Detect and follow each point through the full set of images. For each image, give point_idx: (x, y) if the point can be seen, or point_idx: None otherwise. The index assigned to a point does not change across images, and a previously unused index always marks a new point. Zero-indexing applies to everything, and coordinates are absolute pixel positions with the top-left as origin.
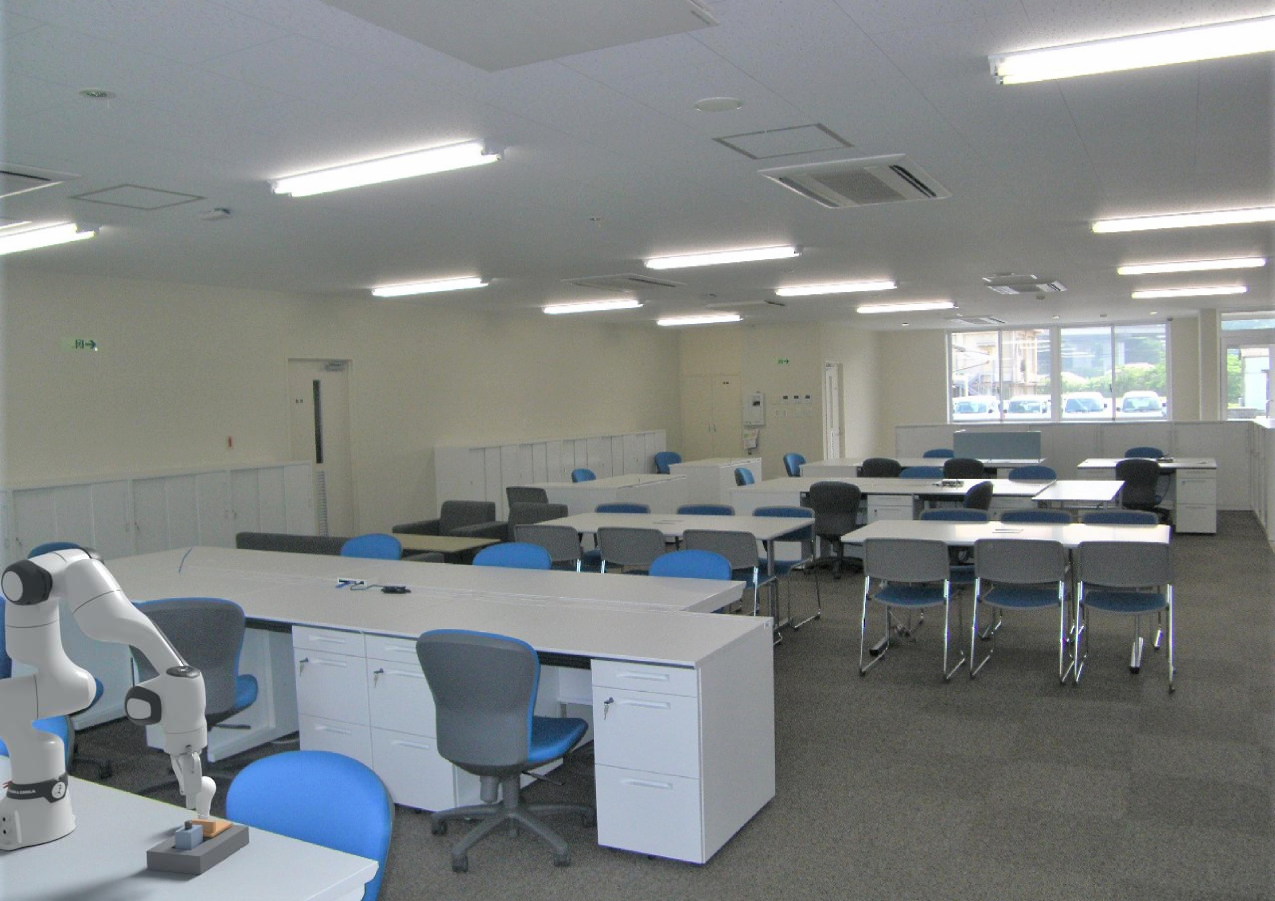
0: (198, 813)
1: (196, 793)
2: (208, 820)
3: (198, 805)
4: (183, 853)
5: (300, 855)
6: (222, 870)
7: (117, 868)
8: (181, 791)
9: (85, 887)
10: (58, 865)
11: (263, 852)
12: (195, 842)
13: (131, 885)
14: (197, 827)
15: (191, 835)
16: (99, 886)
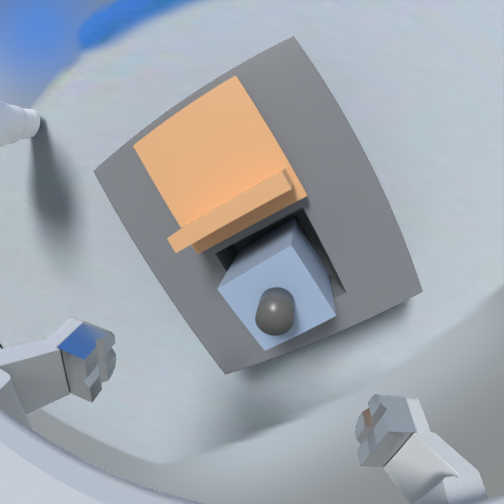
0: (20, 138)
1: (477, 475)
2: (247, 195)
3: (6, 140)
4: (350, 318)
5: (494, 34)
6: (431, 213)
7: (177, 373)
8: (101, 380)
9: (231, 431)
10: (96, 406)
11: (408, 66)
12: (319, 269)
13: (303, 391)
14: (301, 272)
15: (332, 305)
16: (248, 421)
